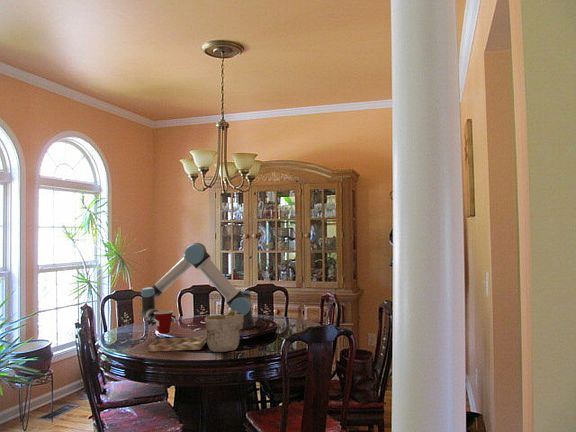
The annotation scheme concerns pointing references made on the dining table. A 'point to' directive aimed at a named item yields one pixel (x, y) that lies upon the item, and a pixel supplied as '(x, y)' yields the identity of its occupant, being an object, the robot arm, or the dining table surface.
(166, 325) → the plastic cup
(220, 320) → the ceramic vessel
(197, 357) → the dining table surface
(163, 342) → the wooden compartment tray
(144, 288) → the robot arm
